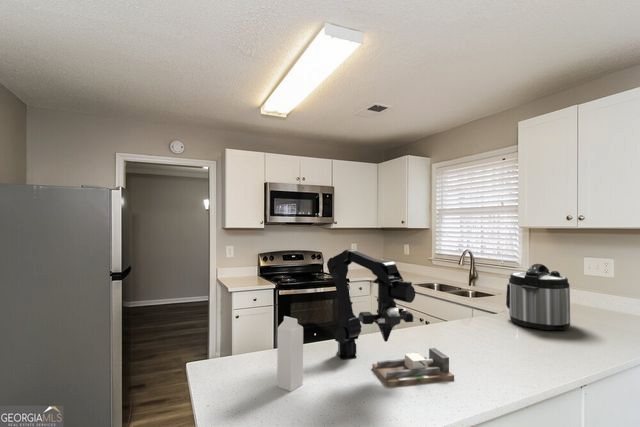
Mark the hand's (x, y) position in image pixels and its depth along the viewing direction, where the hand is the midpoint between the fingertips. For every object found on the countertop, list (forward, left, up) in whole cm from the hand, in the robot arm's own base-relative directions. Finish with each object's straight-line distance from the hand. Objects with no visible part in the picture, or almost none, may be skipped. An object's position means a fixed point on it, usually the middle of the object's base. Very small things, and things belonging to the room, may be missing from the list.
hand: (385, 341), depth 119 cm
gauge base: (+9, -3, -11) cm, 14 cm away
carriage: (+12, -5, -9) cm, 16 cm away
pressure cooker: (+102, +38, -11) cm, 109 cm away
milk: (-34, -3, -11) cm, 36 cm away
